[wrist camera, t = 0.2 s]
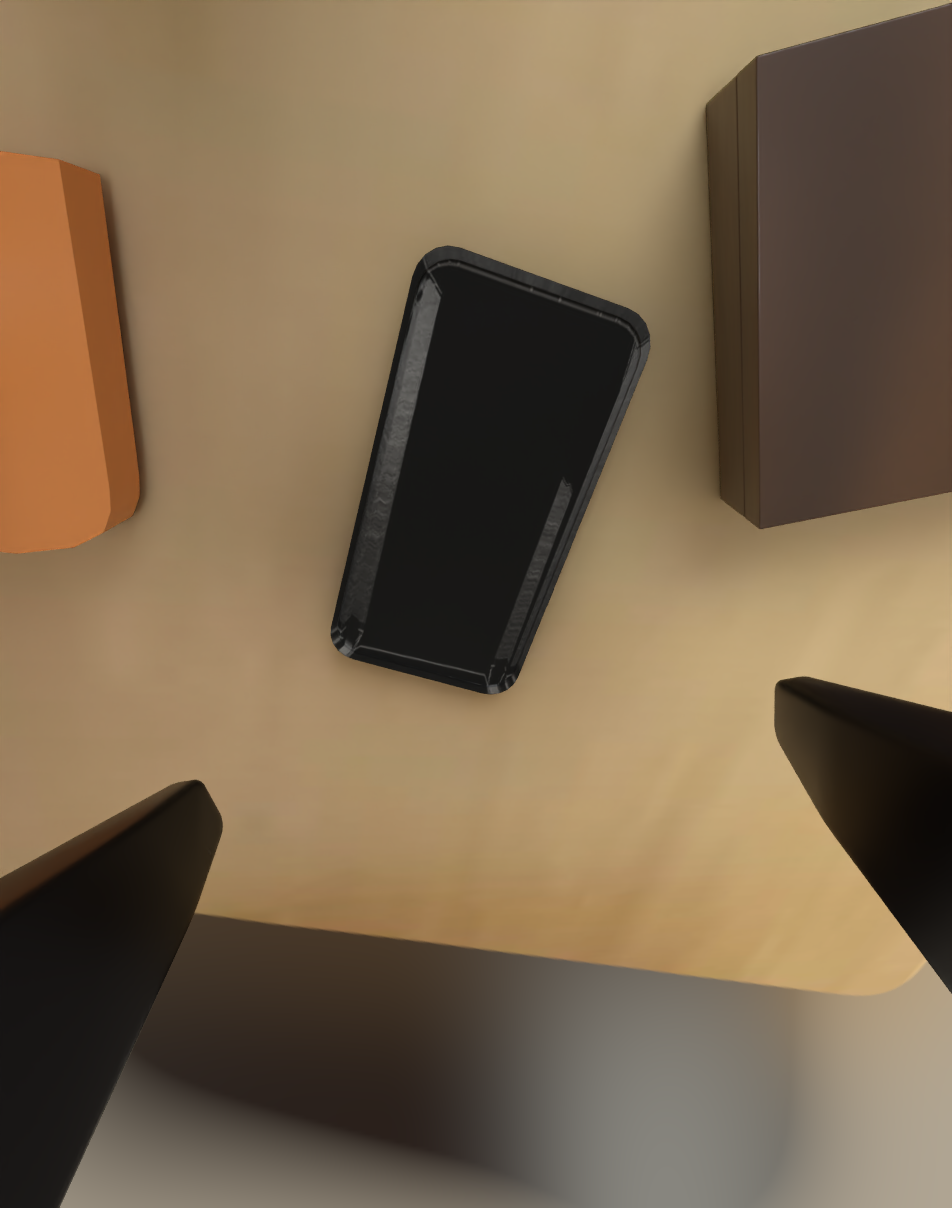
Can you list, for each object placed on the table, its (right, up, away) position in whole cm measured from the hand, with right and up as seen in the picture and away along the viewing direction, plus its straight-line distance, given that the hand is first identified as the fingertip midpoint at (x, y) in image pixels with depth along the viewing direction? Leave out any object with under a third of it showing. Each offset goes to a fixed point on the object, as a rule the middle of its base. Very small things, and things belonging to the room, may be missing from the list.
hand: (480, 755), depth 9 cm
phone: (0, +6, +13) cm, 15 cm away
